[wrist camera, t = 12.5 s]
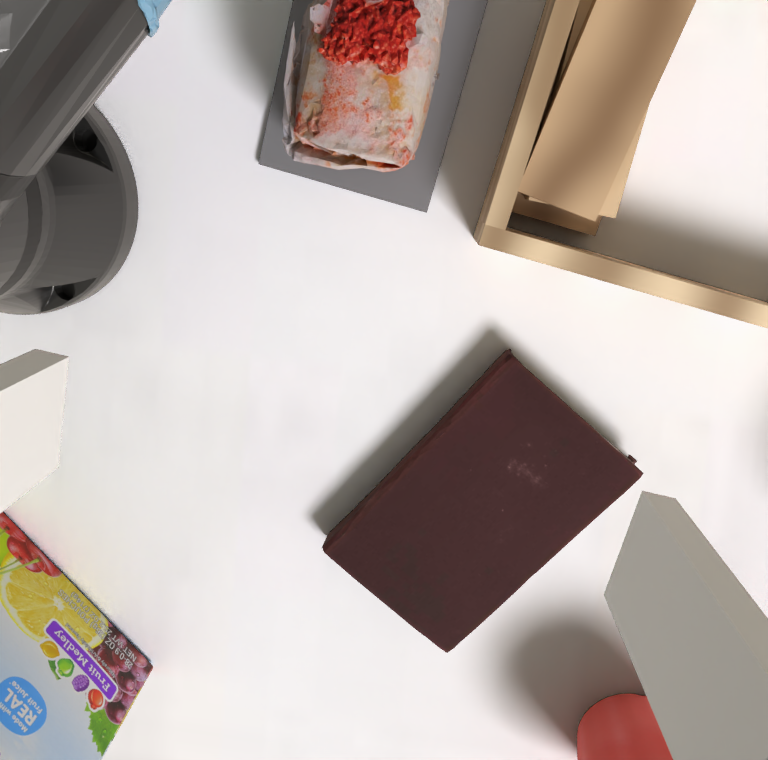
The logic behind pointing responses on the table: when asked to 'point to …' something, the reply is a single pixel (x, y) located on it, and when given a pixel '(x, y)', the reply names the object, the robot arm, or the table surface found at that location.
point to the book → (480, 504)
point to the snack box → (57, 661)
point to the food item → (361, 82)
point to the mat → (421, 173)
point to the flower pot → (621, 731)
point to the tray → (558, 254)
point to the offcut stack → (598, 110)
